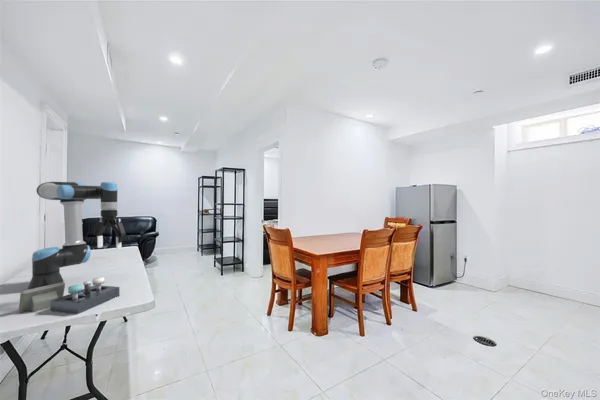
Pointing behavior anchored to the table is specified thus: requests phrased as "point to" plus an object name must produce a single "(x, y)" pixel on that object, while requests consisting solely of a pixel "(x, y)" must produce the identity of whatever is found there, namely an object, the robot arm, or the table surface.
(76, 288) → the knob outer
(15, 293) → the table surface
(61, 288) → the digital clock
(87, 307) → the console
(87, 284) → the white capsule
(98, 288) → the knob inner
